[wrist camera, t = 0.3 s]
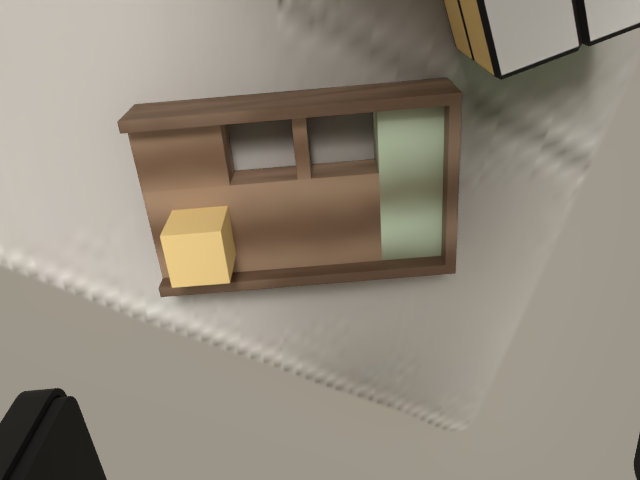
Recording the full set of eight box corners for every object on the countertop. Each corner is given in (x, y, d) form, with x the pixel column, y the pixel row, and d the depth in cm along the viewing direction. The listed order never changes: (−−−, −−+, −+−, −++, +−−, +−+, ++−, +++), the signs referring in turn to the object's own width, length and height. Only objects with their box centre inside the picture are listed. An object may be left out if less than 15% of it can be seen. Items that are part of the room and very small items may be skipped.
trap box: (134, 104, 42) (117, 121, 39) (447, 77, 42) (462, 92, 38) (172, 267, 49) (160, 297, 45) (443, 245, 49) (455, 273, 45)
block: (172, 210, 43) (159, 236, 40) (227, 205, 43) (220, 231, 40) (182, 258, 45) (171, 287, 42) (235, 254, 45) (230, 283, 41)
